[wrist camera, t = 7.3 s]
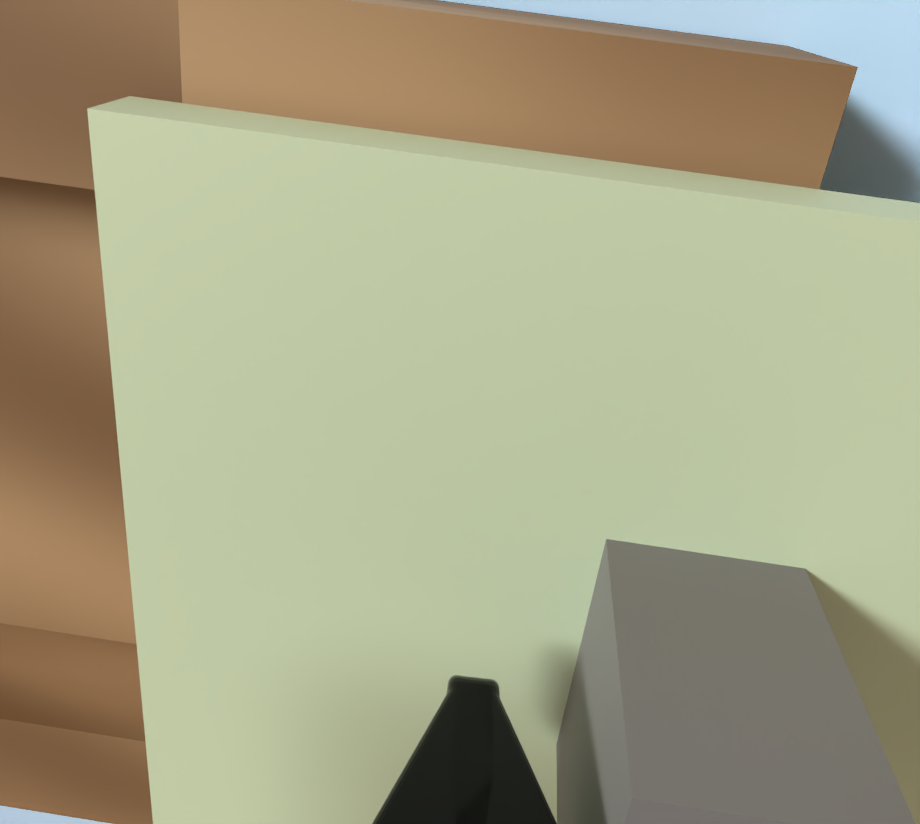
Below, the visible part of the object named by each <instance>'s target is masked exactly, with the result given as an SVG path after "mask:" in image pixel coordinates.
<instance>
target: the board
mask: <svg viewBox="0 0 920 824" xmlns="http://www.w3.org/2000/svg"><path fill="white" fill-rule="evenodd" d="M857 68H858V67H855V66H852V65H849V64H845V63H842V62H839V61H835V60H832V59H829V58H826V57H822V56H819V55H816V54H812V53H809V52H806V51H803V50H799V49H796V48H793V47H789V46H784V45H776V44H768V43H761V42H753V41H745V40H738V39H730V38H722V37H715V36H707V35H699V34H692V33H684V32H676V31H669V30H661V29H653V28H646V27H638V26H630V25H623V24H615V23H607V22H600V21H592V20H584V19H577V18H569V17H561V16H554V15H546V14H538V13H531V12H523V11H515V10H508V9H500V8H492V7H485V6H477V5H469V4H462V3H454V2H446V1H439V0H0V805H2V806H8V807H14V808H20V809H26V810H33V811H39V812H45V813H51V814H57V815H63V816H69V817H76V818H82V819H88V820H94V821H100V822H106V823H112V824H153V818H152V807H151V796H150V785H149V774H148V763H147V753H146V742H145V731H144V720H143V709H142V698H141V687H140V677H139V666H138V655H137V644H136V633H135V622H134V612H133V601H132V590H131V579H130V568H129V557H128V546H127V536H126V525H125V514H124V503H123V492H122V481H121V470H120V460H119V449H118V438H117V427H116V416H115V405H114V395H113V384H112V373H111V362H110V351H109V340H108V329H107V319H106V308H105V297H104V286H103V275H102V264H101V254H100V243H99V232H98V221H97V210H96V199H95V188H94V178H93V167H92V156H91V145H90V134H89V123H88V112H87V108H91V107H94V106H97V105H101V104H104V103H108V102H111V101H115V100H118V99H121V98H125V97H128V96H133V97H141V98H148V99H155V100H163V101H170V102H178V103H185V104H192V105H200V106H207V107H215V108H222V109H229V110H237V111H244V112H251V113H259V114H266V115H274V116H281V117H288V118H296V119H303V120H310V121H318V122H325V123H333V124H340V125H347V126H355V127H362V128H370V129H377V130H384V131H392V132H399V133H406V134H414V135H421V136H429V137H436V138H443V139H451V140H458V141H465V142H473V143H480V144H488V145H495V146H502V147H510V148H517V149H525V150H532V151H539V152H547V153H554V154H561V155H569V156H576V157H584V158H591V159H598V160H606V161H613V162H621V163H628V164H635V165H643V166H650V167H657V168H665V169H672V170H680V171H687V172H694V173H702V174H709V175H716V176H724V177H731V178H739V179H746V180H753V181H761V182H768V183H776V184H783V185H790V186H798V187H805V188H812V189H820V185H821V182H822V179H823V176H824V173H825V169H826V166H827V163H828V160H829V157H830V154H831V150H832V147H833V144H834V141H835V138H836V134H837V131H838V128H839V125H840V122H841V119H842V115H843V112H844V109H845V106H846V103H847V99H848V96H849V93H850V90H851V87H852V84H853V80H854V77H855V74H856V71H857Z"/></svg>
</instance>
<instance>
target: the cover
mask: <svg viewBox="0 0 920 824" xmlns="http://www.w3.org/2000/svg"><path fill="white" fill-rule="evenodd" d="M87 112H88V123H89V134H90V145H91V156H92V167H93V178H94V188H95V199H96V210H97V221H98V232H99V243H100V254H101V264H102V275H103V286H104V297H105V308H106V319H107V329H108V340H109V351H110V362H111V373H112V384H113V395H114V405H115V416H116V427H117V438H118V449H119V460H120V470H121V481H122V492H123V503H124V514H125V525H126V536H127V546H128V557H129V568H130V579H131V590H132V601H133V612H134V622H135V633H136V644H137V655H138V666H139V677H140V687H141V698H142V709H143V720H144V731H145V742H146V753H147V763H148V774H149V785H150V796H151V807H152V818H153V824H372V823H373V821H374V819H375V817H376V816H377V814H378V812H379V810H380V809H381V807H382V805H383V804H384V802H385V800H386V798H387V797H388V795H389V793H390V791H391V790H392V788H393V786H394V784H395V783H396V781H397V779H398V778H399V776H400V774H401V772H402V771H403V769H404V767H405V765H406V764H407V762H408V760H409V759H410V757H411V755H412V753H413V752H414V750H415V748H416V746H417V745H418V743H419V741H420V739H421V738H422V736H423V734H424V733H425V731H426V729H427V727H428V726H429V724H430V722H431V720H432V719H433V717H434V715H435V713H436V712H437V710H438V708H439V707H440V705H441V703H442V701H443V700H444V698H445V696H446V693H447V686H448V681H449V679H450V678H451V677H452V676H454V675H460V676H468V677H476V678H485V679H493V680H495V681H496V682H497V683H498V685H499V692H500V699H501V702H502V704H503V706H504V708H505V710H506V713H507V715H508V717H509V719H510V721H511V724H512V726H513V728H514V730H515V732H516V735H517V737H518V739H519V741H520V743H521V746H522V748H523V750H524V752H525V754H526V757H527V759H528V761H529V763H530V765H531V768H532V770H533V772H534V774H535V776H536V779H537V781H538V783H539V785H540V787H541V790H542V792H543V794H544V796H545V798H546V801H547V803H548V805H549V807H550V809H551V812H552V814H553V816H554V818H555V820H556V823H557V824H920V203H916V202H908V201H901V200H894V199H886V198H879V197H871V196H864V195H857V194H849V193H842V192H835V191H827V190H820V189H812V188H805V187H798V186H790V185H783V184H776V183H768V182H761V181H753V180H746V179H739V178H731V177H724V176H716V175H709V174H702V173H694V172H687V171H680V170H672V169H665V168H657V167H650V166H643V165H635V164H628V163H621V162H613V161H606V160H598V159H591V158H584V157H576V156H569V155H561V154H554V153H547V152H539V151H532V150H525V149H517V148H510V147H502V146H495V145H488V144H480V143H473V142H465V141H458V140H451V139H443V138H436V137H429V136H421V135H414V134H406V133H399V132H392V131H384V130H377V129H370V128H362V127H355V126H347V125H340V124H333V123H325V122H318V121H310V120H303V119H296V118H288V117H281V116H274V115H266V114H259V113H251V112H244V111H237V110H229V109H222V108H215V107H207V106H200V105H192V104H185V103H178V102H170V101H163V100H155V99H148V98H141V97H133V96H128V97H125V98H121V99H118V100H115V101H111V102H108V103H104V104H101V105H97V106H94V107H91V108H87Z"/></svg>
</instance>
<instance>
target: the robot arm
mask: <svg viewBox="0 0 920 824" xmlns="http://www.w3.org/2000/svg"><path fill="white" fill-rule="evenodd" d="M372 824H557V823H556V820H555V818H554V816H553V814H552V812H551V809H550V807H549V805H548V803H547V801H546V798H545V796H544V794H543V792H542V790H541V787H540V785H539V783H538V781H537V779H536V776H535V774H534V772H533V770H532V768H531V765H530V763H529V761H528V759H527V757H526V754H525V752H524V750H523V748H522V746H521V743H520V741H519V739H518V737H517V735H516V732H515V730H514V728H513V726H512V724H511V721H510V719H509V717H508V715H507V713H506V710H505V708H504V706H503V704H502V702H501V699H500V692H499V685H498V683H497V682H496V681H495V680H493V679H485V678H476V677H468V676H460V675H454V676H452V677H451V678H450V679H449V681H448V686H447V693H446V696H445V698H444V700H443V701H442V703H441V705H440V707H439V708H438V710H437V712H436V713H435V715H434V717H433V719H432V720H431V722H430V724H429V726H428V727H427V729H426V731H425V733H424V734H423V736H422V738H421V739H420V741H419V743H418V745H417V746H416V748H415V750H414V752H413V753H412V755H411V757H410V759H409V760H408V762H407V764H406V765H405V767H404V769H403V771H402V772H401V774H400V776H399V778H398V779H397V781H396V783H395V784H394V786H393V788H392V790H391V791H390V793H389V795H388V797H387V798H386V800H385V802H384V804H383V805H382V807H381V809H380V810H379V812H378V814H377V816H376V817H375V819H374V821H373V823H372Z"/></svg>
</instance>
